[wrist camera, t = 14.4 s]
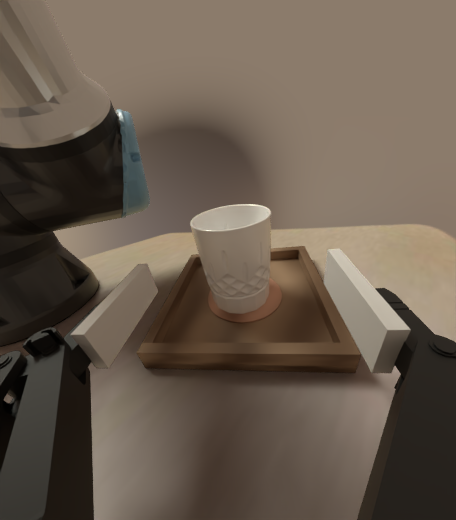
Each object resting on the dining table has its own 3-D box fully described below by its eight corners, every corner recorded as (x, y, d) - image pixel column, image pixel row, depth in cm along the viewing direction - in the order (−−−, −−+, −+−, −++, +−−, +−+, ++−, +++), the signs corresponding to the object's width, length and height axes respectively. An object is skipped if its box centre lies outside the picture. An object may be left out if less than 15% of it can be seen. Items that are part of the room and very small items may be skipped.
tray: (145, 368, 18) (136, 352, 17) (194, 266, 34) (191, 254, 33) (355, 372, 15) (361, 354, 14) (303, 259, 31) (304, 246, 30)
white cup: (237, 331, 19) (221, 238, 14) (197, 296, 25) (176, 220, 20) (287, 292, 23) (288, 209, 18) (243, 269, 29) (234, 201, 24)
